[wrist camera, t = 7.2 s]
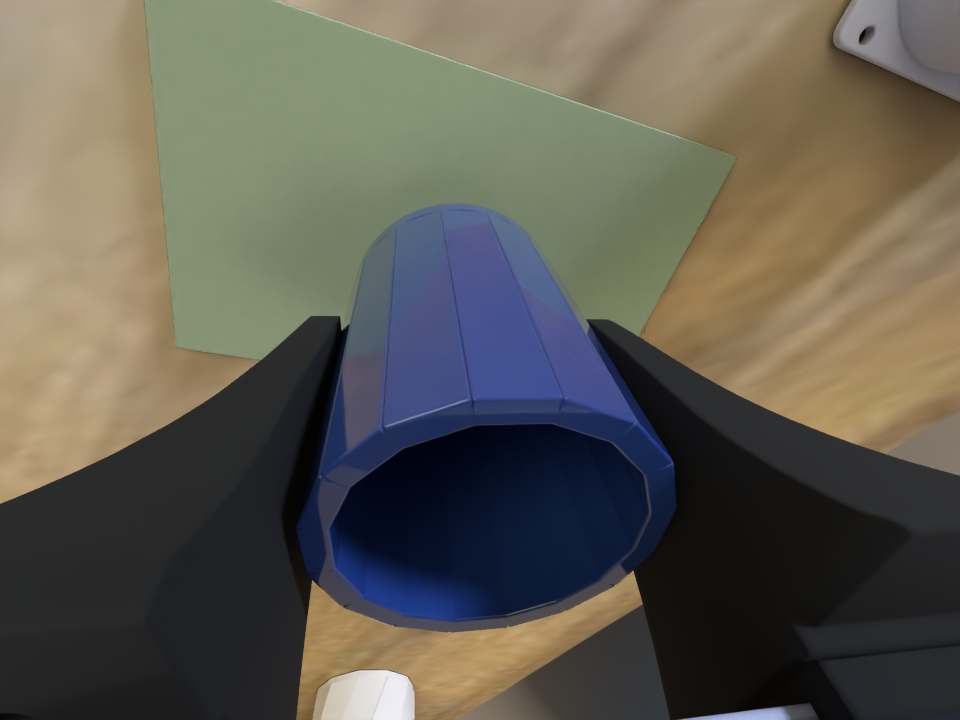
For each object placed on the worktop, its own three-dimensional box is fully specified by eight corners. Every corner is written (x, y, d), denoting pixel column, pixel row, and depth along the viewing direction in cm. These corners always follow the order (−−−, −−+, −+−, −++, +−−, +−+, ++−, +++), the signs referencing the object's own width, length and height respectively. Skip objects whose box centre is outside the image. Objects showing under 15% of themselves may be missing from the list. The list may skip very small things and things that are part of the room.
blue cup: (568, 208, 12) (739, 395, 6) (535, 379, 15) (621, 618, 9) (346, 197, 11) (263, 401, 5) (360, 380, 14) (322, 645, 8)
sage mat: (732, 154, 18) (738, 156, 17) (595, 405, 25) (598, 410, 24) (145, -44, 13) (138, -46, 12) (179, 342, 20) (175, 348, 19)
